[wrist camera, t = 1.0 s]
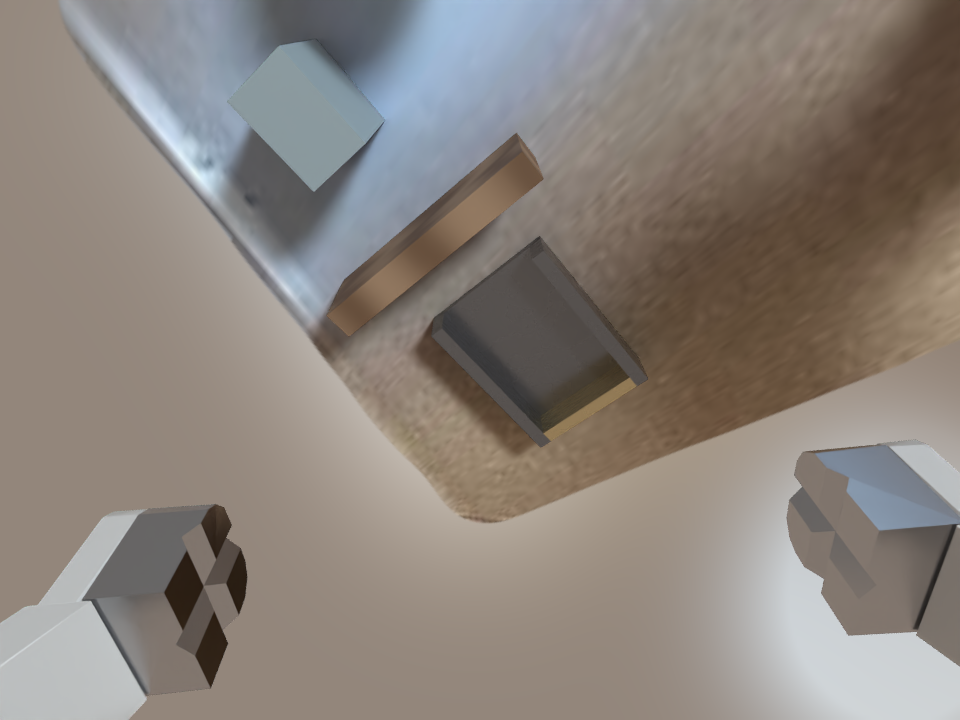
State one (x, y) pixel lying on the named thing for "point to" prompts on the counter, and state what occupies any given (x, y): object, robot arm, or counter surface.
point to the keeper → (538, 344)
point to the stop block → (307, 110)
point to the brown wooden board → (436, 234)
